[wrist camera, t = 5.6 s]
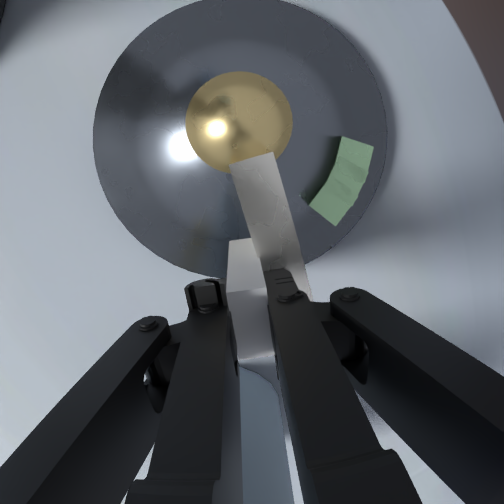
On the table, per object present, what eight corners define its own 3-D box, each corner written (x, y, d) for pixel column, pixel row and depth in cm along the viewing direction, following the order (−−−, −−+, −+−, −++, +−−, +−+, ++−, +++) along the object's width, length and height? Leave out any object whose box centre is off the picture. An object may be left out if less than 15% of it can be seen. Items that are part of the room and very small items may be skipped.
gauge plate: (74, 64, 16) (64, 59, 15) (326, -17, 15) (331, -27, 14) (157, 303, 21) (152, 313, 19) (404, 225, 20) (414, 230, 18)
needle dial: (187, 104, 16) (169, 86, 11) (267, 80, 16) (276, 55, 11) (245, 284, 19) (247, 324, 14) (318, 262, 19) (341, 295, 14)
